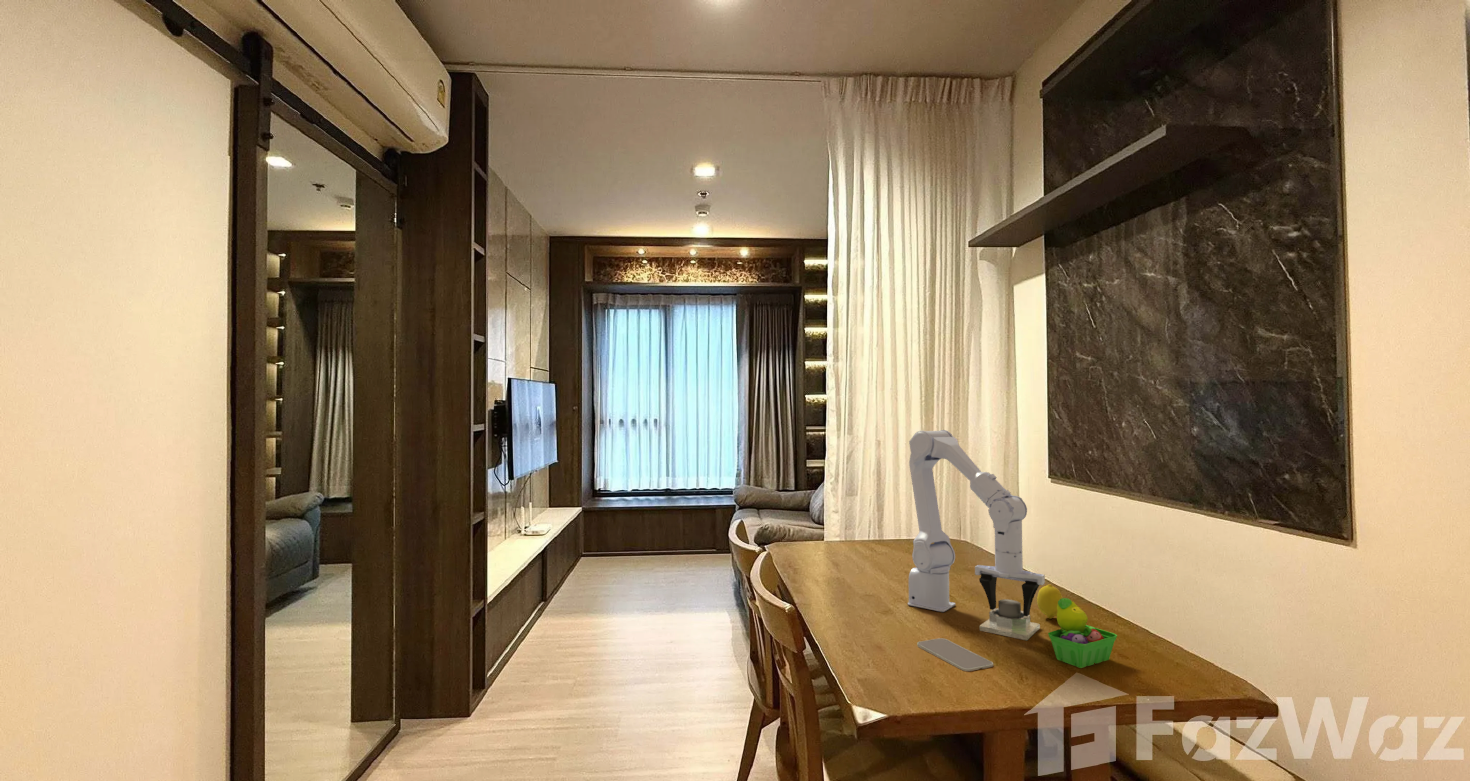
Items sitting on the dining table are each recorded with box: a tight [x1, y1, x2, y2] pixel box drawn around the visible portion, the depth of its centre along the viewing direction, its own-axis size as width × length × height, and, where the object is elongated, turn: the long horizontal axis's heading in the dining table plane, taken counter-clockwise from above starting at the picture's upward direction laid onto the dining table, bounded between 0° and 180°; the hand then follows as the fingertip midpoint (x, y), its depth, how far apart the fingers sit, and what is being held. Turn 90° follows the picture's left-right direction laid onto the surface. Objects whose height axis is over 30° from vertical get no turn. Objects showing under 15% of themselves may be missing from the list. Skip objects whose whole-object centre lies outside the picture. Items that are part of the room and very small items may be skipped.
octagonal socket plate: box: [979, 607, 1041, 641], centre depth 144 cm, size 10×10×4 cm
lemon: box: [1036, 583, 1063, 619], centre depth 152 cm, size 6×6×8 cm
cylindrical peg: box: [998, 599, 1022, 618], centre depth 144 cm, size 5×5×5 cm
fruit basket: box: [1047, 597, 1118, 669], centre depth 127 cm, size 11×9×11 cm
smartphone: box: [916, 638, 994, 672], centre depth 129 cm, size 7×1×15 cm
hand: (1009, 611), depth 144 cm, fingers open, 7 cm apart
